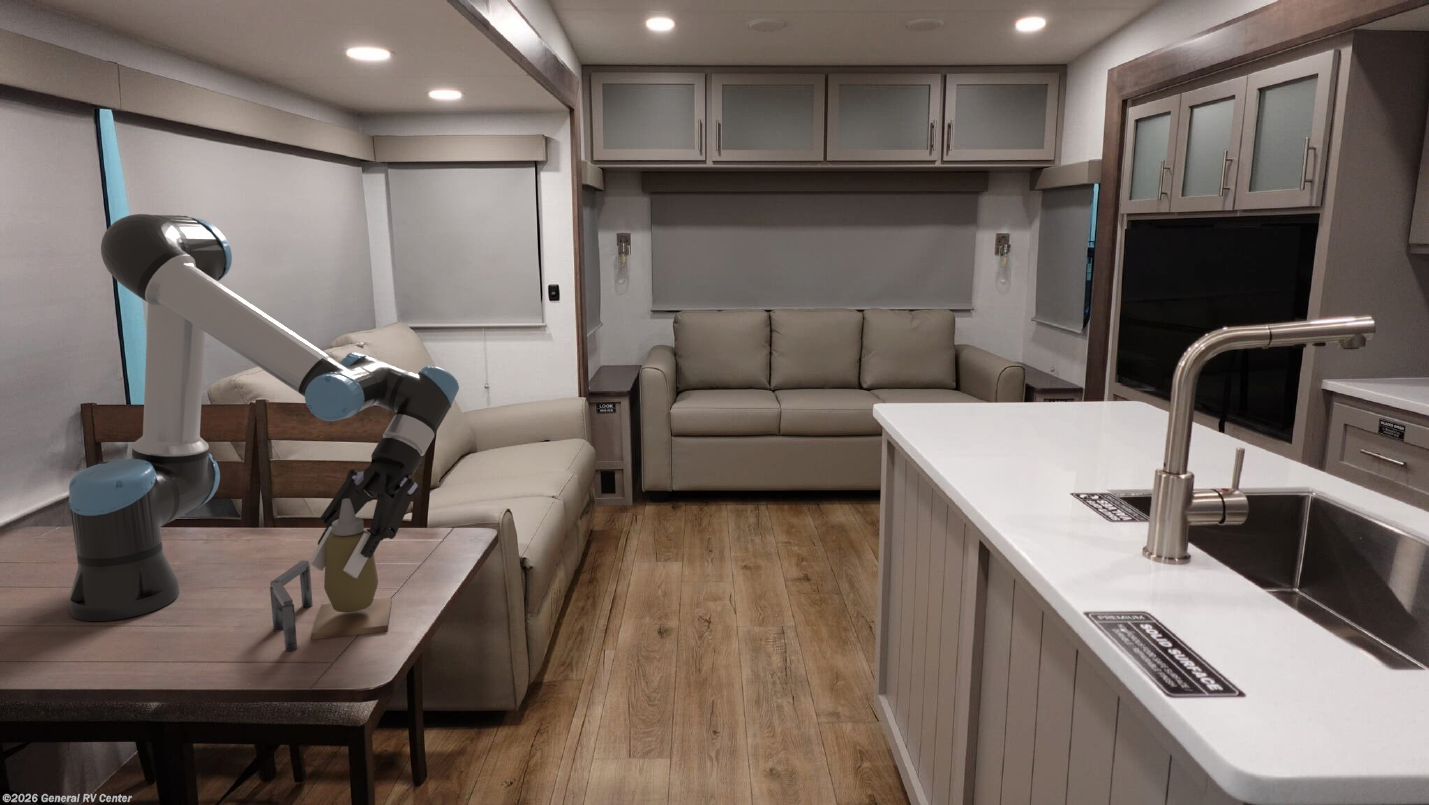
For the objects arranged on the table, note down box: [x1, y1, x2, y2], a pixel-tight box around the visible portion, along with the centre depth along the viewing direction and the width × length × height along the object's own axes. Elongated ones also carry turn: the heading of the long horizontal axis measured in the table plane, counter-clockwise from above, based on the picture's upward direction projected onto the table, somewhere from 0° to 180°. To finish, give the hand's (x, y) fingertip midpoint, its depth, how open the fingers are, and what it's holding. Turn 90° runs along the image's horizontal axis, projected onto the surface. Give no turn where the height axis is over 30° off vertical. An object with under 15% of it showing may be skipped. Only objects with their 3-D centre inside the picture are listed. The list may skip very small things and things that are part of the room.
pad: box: [311, 597, 393, 641], centre depth 136 cm, size 11×11×1 cm
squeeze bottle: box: [323, 499, 379, 612], centre depth 134 cm, size 8×8×18 cm
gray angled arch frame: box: [269, 560, 314, 653], centre depth 133 cm, size 5×18×8 cm, turn 18°
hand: (332, 570), depth 131 cm, fingers closed on squeeze bottle, 6 cm apart
